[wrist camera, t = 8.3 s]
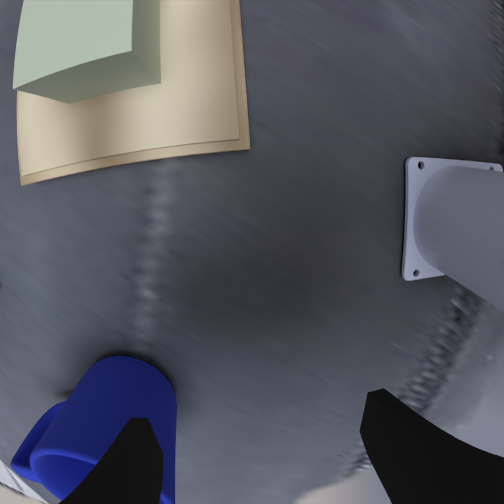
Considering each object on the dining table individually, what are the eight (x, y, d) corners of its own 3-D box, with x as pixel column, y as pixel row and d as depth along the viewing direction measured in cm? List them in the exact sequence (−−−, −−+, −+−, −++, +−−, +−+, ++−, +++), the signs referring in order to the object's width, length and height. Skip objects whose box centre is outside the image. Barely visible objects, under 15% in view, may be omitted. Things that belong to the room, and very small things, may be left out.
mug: (31, 354, 19) (-31, 438, 10) (161, 330, 19) (123, 453, 10) (79, 427, 22) (46, 512, 12) (203, 416, 22) (198, 528, 12)
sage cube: (160, -1, 11) (137, -52, 7) (161, 83, 13) (131, 50, 8) (72, 22, 11) (27, -13, 6) (68, 104, 13) (12, 89, 8)
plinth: (233, -41, 13) (234, -62, 10) (247, 150, 16) (251, 148, 14) (43, 3, 12) (25, -9, 10) (38, 182, 16) (16, 186, 13)
